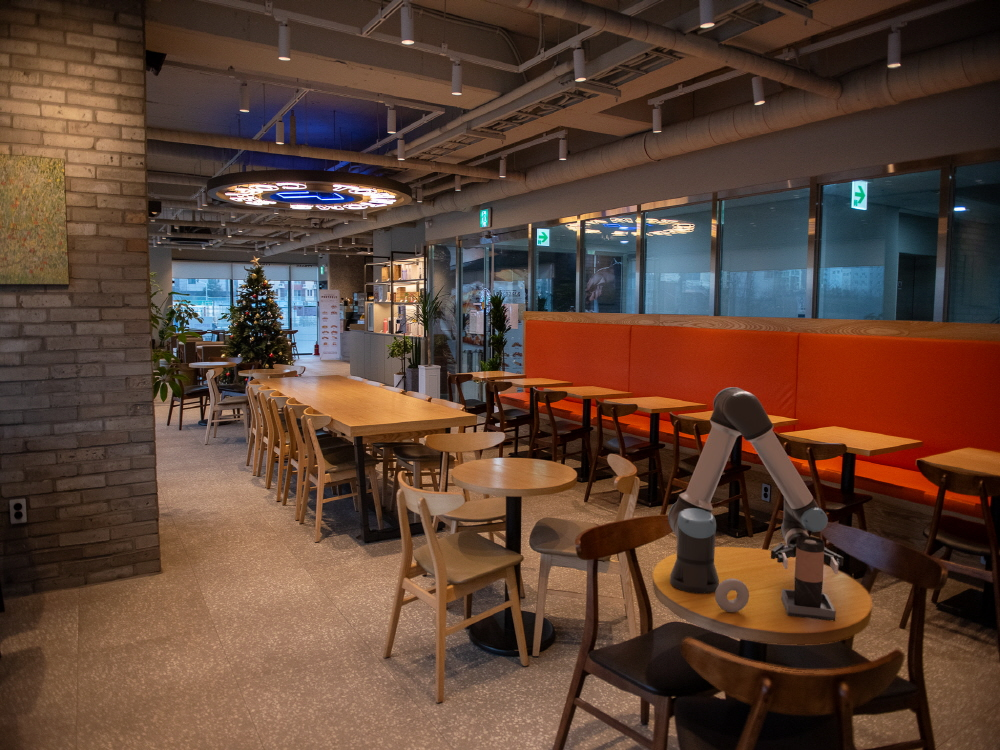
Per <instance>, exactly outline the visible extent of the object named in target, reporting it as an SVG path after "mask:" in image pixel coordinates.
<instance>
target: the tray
mask: <svg viewBox="0 0 1000 750" xmlns="http://www.w3.org/2000/svg"><path fill="white" fill-rule="evenodd" d="M780 599H781V602H782V605H783V608H784V609H785V612H786V614H787V616H788V617H795V618H804V619H812V620H821V621H830V620H833V621H832V622H836V614H837V613H836V611H837V610H836V609H835V607H834V605H833V603H832V602H831V599H830V597H829V596H828V594H827V593H825V592H824V593H823V592H822V597H821V607H820V608H814V607H805V606H796V605H795V604H794V589H787V588H781V597H780Z"/></svg>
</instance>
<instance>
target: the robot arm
mask: <svg viewBox="0 0 1000 750" xmlns="http://www.w3.org/2000/svg"><path fill="white" fill-rule="evenodd" d="M712 405H713V406H712V407H713V411H712V414H711V416H710V419H709V422H710V425H711V429H710V431H709V433H708V436H707V439H706V441H705V443H704V446H703V448H702V451H701V453H700V456H699V458H698V461H697V463H696V466H695V469H694V470H693V473H692V476H691V478H690V481H689V483H688V485H687V487H686V490H685V491H684V492H681V493H680V494H679V495H678V497H677V501H676V502H675V503H674V504H672V505H671V507H670V509H669V511H668V515H667V516H668V517H667V519H668V525H669V527H670V528H671V531H672V532H673V533H674V535H675V537H676V539H677V541H676V560H675V562H674V565H673V568H672V570H671V573H670V574H669V575H670V578H669V582H670V585H671V584H672V585H673V586H672V585H671V586H672V587H674V588H675V589H677V590H679V591H683V592H686V593H690V594H702V595H704V594H711V593H715V592H716V589H717V587H718V585H719V584H720V580H719V576H718V573H717V568H716V564H715V553H716V550H715V549H716V530H717V522H716V518H715V516H714V515H713V513H712V511H713V508H714V507H713V505H712V503H711V501H712V498H713V497H714V494H715V491H716V489H717V487H718V484H719V482H720V479H721V476H722V475H723V472H724V470H725V467H726V465H727V462H728V460H729V457H730V455H731V453H732V450H733V448H734V446H735V443H736V441H737V438H738V437H739V436H742V437H743V439H744V441H746V442H749V443H750V444H751V446H752V447H753V448H754V450H755V452H756V453H757V455H758V458H759V459H760V460H761V461H762V464H763V465H764V466H765V468H766V470H767V471H768V473H769V474H770V476H771V478H772V480H773V481H774V482H775V484H776V486H777V488H778V489H779V491H780V493H781V494H782V495H783V496H782V497H783V519H782V524H781V528H780V534H781V536H782V539H783V540H784V542H785V544H784V543H783V542H779V543H778V545H777V546H775V547H773V549H771V550H770V559H772V560H775V559H777V561H776V562H777V563H779V564H781V563H782V565H783V569H784V570H788V567H789V565H788V564H789V563H788V561H789V560H788V559H790V558H793V559H794V558H796V544H797V538H798V537H799V538H805V537H806V536H810V535H809V533H808V531H809V532H814V533H816V532H821V531H823V530H824V529H826V527H827V525H828V521H829V519H828V516H827V514H826V512H825V511H824V510H823V509H822V508H820V507H819V505H818V503H817V501H816V500H815V498H814V496H813V495H812V493H811V492H810V490H809V489H808V487H807V485H806V483H805V481H804V480H803V478H802V477H801V475H800V473H799V472H798V470H797V468H796V467H795V465H794V464H793V462H792V461H791V458H790V457H789V455H788V454H787V452H786V451H785V448H784V447H783V445H782V444H781V442H780V440H779V438H777V436H776V434H775V432H774V431H773V430H774V423H773V422H772V421H771V419H770V417H769V415H768V413H767V412H766V410H765V409H764V406H763V405H762V403H761V401H760V400H759V399H758V397H757V396H756V395H754V394H753V393H751V392H750V391H746V390H744V389H742V388H740V387H731V386H730V387H726V388H724V389H721V390H720V391H719V392H718V393H717V394H716V395H715V397H714V399H713V403H712ZM824 563H827V564H829V565H830V568H831V569H832V571H833V573H834V574H835V575H838V574H839V568H840V566H841V567H842V566H844V557H843V556H841V555H840V554H839V553H838V554H837V553H836V552H834V551H832V550H830V549H828V548H827V546H826V547H825V546H824Z"/></svg>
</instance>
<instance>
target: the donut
mask: <svg viewBox="0 0 1000 750" xmlns="http://www.w3.org/2000/svg"><path fill="white" fill-rule="evenodd" d="M731 591H734V592H736V597H735V598H734V599H733V600H732V599H731V600H729V599H728V594H729V593H730V592H731ZM714 599H715V602H716V604H717V607H719V608H720V609H721V610H722V611H724V612H727V613H737V612H740V611H741V610H743V609H744V608H745V607H746V606H747V604H748V602H749V600H750V591H749V589H748V586H747V585H746V584H745V583H744V582H743V581H741V580H739V579H737V578H733V577H732V578H727V579H724V580H722V581H720V582H719V585H718V587H717V589H716V591H715V592H714Z"/></svg>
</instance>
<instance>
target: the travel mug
mask: <svg viewBox="0 0 1000 750" xmlns="http://www.w3.org/2000/svg"><path fill="white" fill-rule="evenodd" d="M824 547H825V541H824V540H823V539H822V538H819V537H815V536H810V535H809V536H806V537H805V538H799V537H798V538H797V544H796V557H795V563H794V589H793V590H794V604H795V605H796V606H805V607H814V608H820V607H821V597H822V593H823V585H824V584H823V583H824V564H825V562H824Z"/></svg>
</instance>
